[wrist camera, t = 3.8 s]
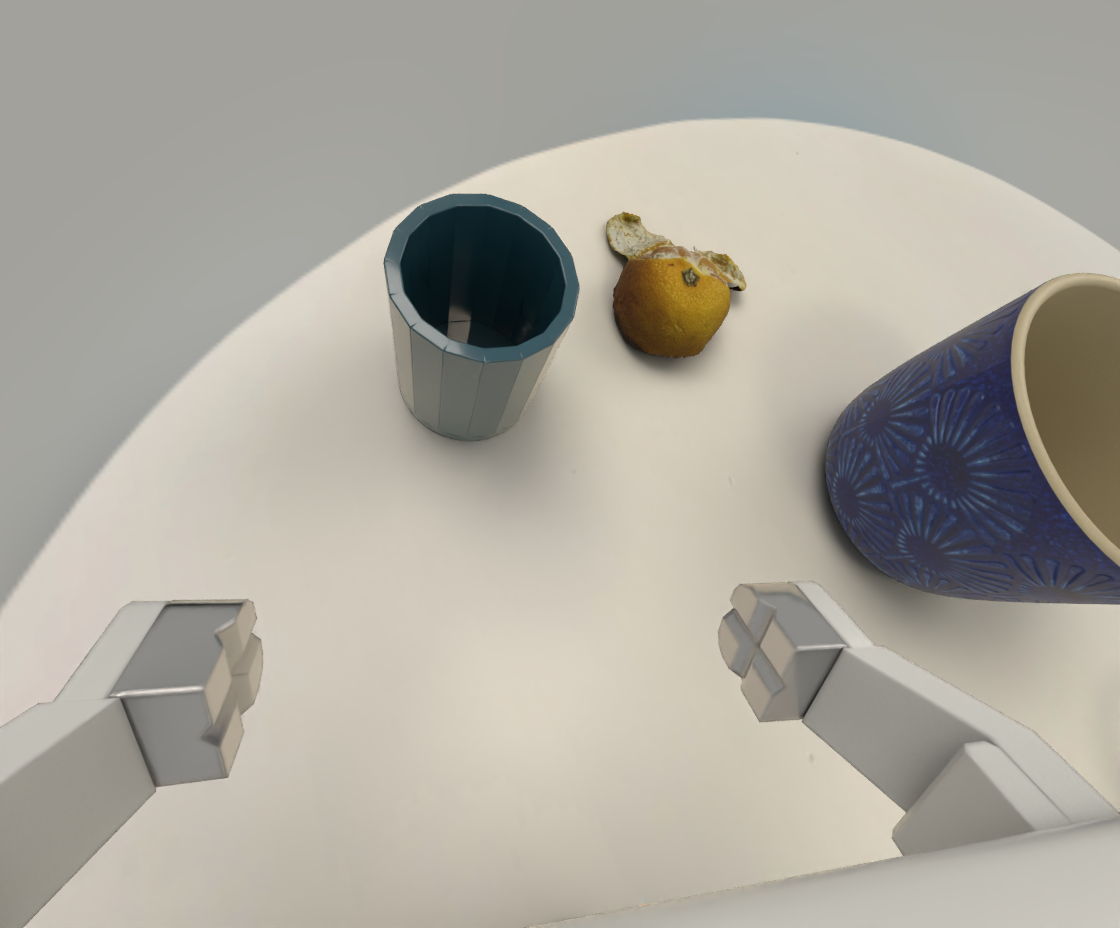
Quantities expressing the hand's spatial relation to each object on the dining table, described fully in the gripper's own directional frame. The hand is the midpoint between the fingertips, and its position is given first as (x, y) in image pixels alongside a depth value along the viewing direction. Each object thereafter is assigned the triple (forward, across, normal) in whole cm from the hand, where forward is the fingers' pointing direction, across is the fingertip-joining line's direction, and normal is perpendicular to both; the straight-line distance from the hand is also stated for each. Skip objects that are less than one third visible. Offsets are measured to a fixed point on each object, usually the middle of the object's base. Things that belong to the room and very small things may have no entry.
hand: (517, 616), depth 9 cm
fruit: (+21, -11, -2) cm, 24 cm away
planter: (+14, -23, +6) cm, 27 cm away
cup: (+17, 0, +2) cm, 17 cm away
